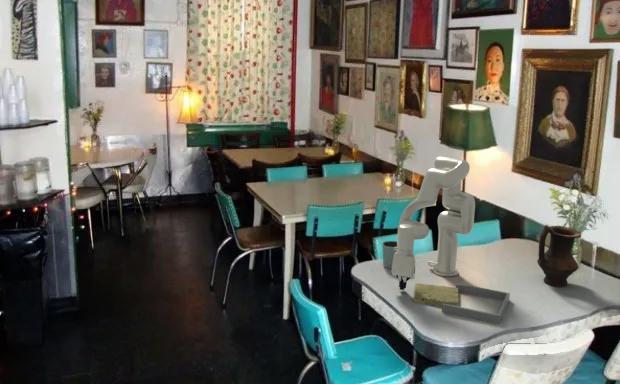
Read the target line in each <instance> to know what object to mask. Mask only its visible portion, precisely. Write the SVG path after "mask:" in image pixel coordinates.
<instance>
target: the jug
mask: <svg viewBox="0 0 620 384" xmlns="http://www.w3.org/2000/svg"><path fill="white" fill-rule="evenodd" d="M548 234H549V236H550V237H549V239H550V241H549V245H548V249H547V250H546V249H545V247H546V239H547V237H548ZM581 237H582V233H581V232H579V231H578V230H576V229H573V228H571V227H568V226H565V225H564V226H562V225H548V224H545V225H544V227H543V229H542V231H541V233H540V235H539V241H538V255H537V256H538V259H537V261H536V262H537V264H538V266H539V268H540V269H541V270H542V272H543V274H544V278H543V282H544V283H545V284H547V285H549V286H551V287H557V288H564V287H567V286H568V285H569V284H568V278H569V277H570V276H571V275H573V274H574V273H575V272H576V271H577V270H578V269H579V268H580V267H579V265H578V262H577V260H576V259H575V258H574V256H573V253H572V251H573V246H574V244H575V243H574V242H575V239H578V238H581ZM545 250H546V251H545Z"/></svg>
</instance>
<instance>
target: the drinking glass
mask: <svg viewBox="0 0 620 384" xmlns="http://www.w3.org/2000/svg"><path fill="white" fill-rule="evenodd" d="M394 247H397V240H385V241H383V242H382V266H383V267H384V268H386V269H391V270H392V264H393V258H394V254H395V253H396V251H395V250H394Z"/></svg>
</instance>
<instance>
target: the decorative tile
mask: <svg viewBox="0 0 620 384" xmlns="http://www.w3.org/2000/svg"><path fill="white" fill-rule="evenodd" d="M413 290H414V291H413V303H414V304H426V305H432V306H436V307H441V308H442V304H443V303H444V304H449V305H454V306H459V305H460V304H459V303H460V302H459V301H460V299H459V292H458V288H456V287H453V286H446V285H435V284H426V283H425V284H424V283H415V284H414V289H413ZM459 307H460V306H459Z"/></svg>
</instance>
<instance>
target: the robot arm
mask: <svg viewBox="0 0 620 384" xmlns="http://www.w3.org/2000/svg"><path fill="white" fill-rule="evenodd" d="M433 166H434V168H433V167H432V168H430V169H429V168H428V169H427V170H426V172H425V175H424V178H423V180H422V183H421V186H420V189H419V192H418V194H417V197H416V198H415V199H414V200H413V201H411V202H410V203H409V204H408V205H407V206H406V207H405V208H404V210H403V212H402V214H401V216H400V219H399V223H398V227H397V239H396V241H397V247H394V250H395V251H396V253H395V254H394V258H393V264H392V269H391V275H392V276H393V277H396V279H397V280H398V281H399V282H398V288H399V290H400V291H405V289H406V288H407V282H408V281H409V280H415V278H416V276H415V274H416V257H415V254H414V245H415V241H416V240H419V241H420V240H423V239H426V238H427V237H428V236H429V234H430V228H429V226H428V225H427V224H426V223H423V222H421V221H420V222H419V221H417V220H412V219H413V216H414V214H415V213H416V212H417V211H419V210H421V209H423V208H427V207H432V206H433V205H435V204H436V202H437V199H438V196H439V193H440V189H442V199H441V200H442V206H443V207H444V208H445V209H447V210H444V211H442V212H440V213H439V215H438V217H437V226H438V228H437V229H438V240H437V241H438V242H437V253H436V261H431V260H428V263H427V265H428V266H429V267H433V268H432V272H433V274H435V275H438V276H442V277H455V276H457V275H458V274H459V269H458V268H456V267H457V256H458V255H457V254H458V244H459V238H458V237H459V236H458V235H457V234H459V235H462V236H463V235H464V236H465V235H469V234H471V232H472V231H473V229H474V224H475V210H476V200H475V197H474V196H473V194H470V193H467V192H463V191H462V182H463V180H464V179H465V178H466V177H467V176H468V175H469V172H470V168H471V166H470V164H469V162H468V161H466V160H464V159H461V158H460V159H459V158H456V157H455V158H454V157H451V156H450V157H448V156H437V157H436V158H435V159H434V165H433ZM450 210H451V211H450Z"/></svg>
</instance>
